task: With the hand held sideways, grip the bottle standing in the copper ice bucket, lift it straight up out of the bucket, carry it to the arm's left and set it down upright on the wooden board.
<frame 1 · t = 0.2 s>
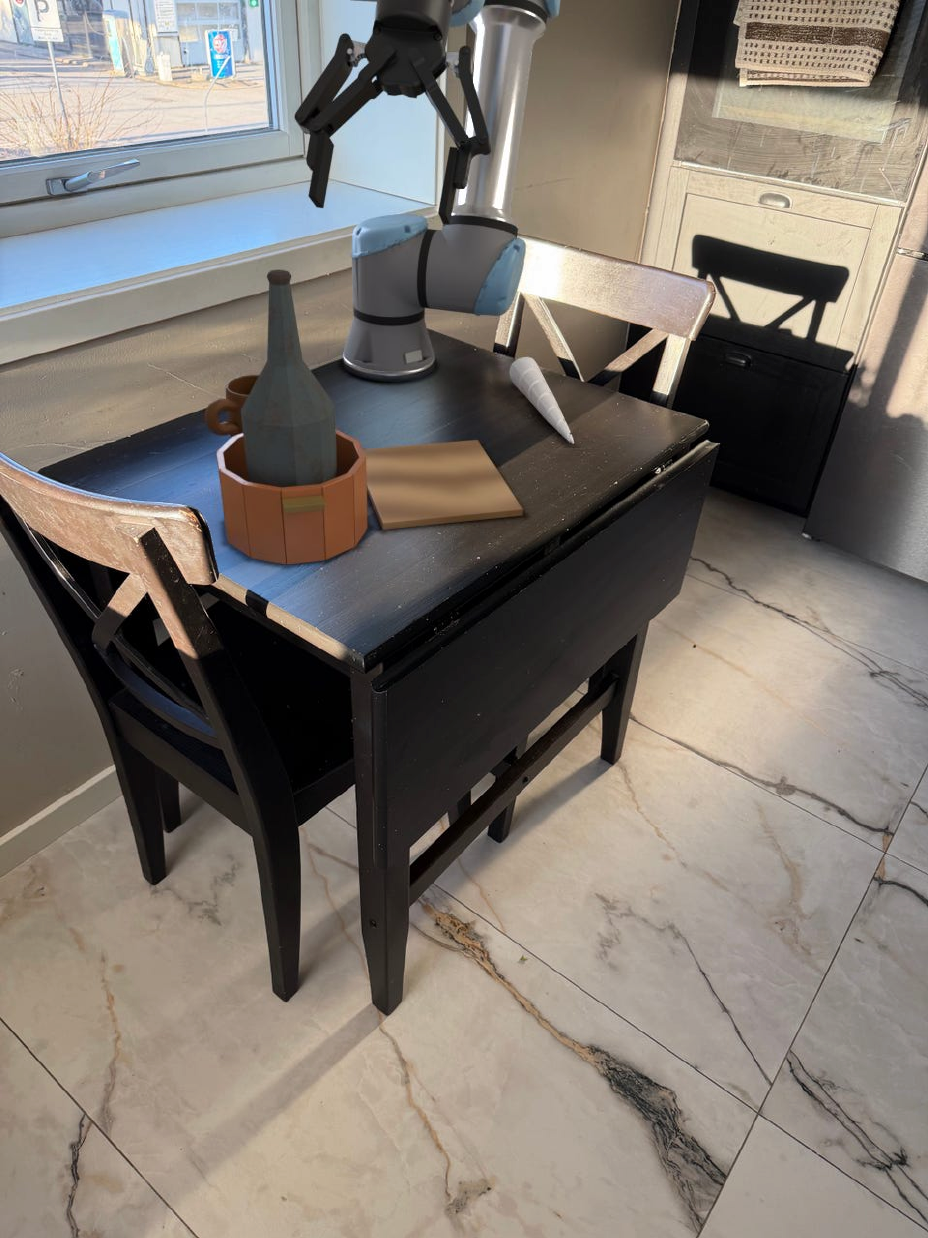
hand: (379, 210, 92), 35 cm above the table, tool tilted 35°, fingers open, 13 cm apart
wooden board: (433, 484, 120), on the table
unicorn horn: (544, 411, 141), on the table
bottle: (296, 527, 110), resting in ice bucket
mug: (247, 455, 124), on the table
ice bucket: (296, 525, 110), on the table
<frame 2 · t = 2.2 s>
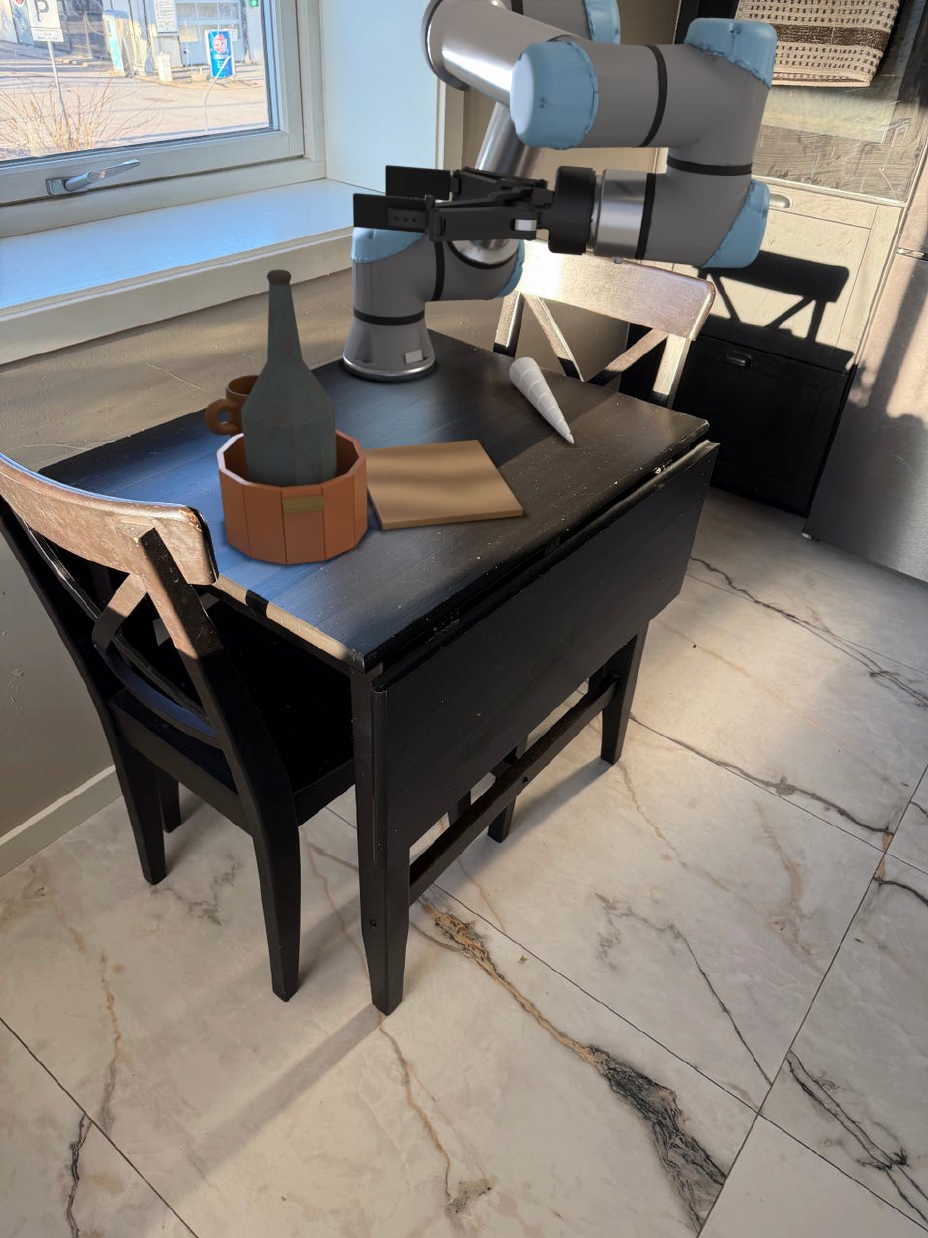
hand: (370, 194, 87), 38 cm above the table, tool horizontal, fingers open, 13 cm apart
nothing on the table moved.
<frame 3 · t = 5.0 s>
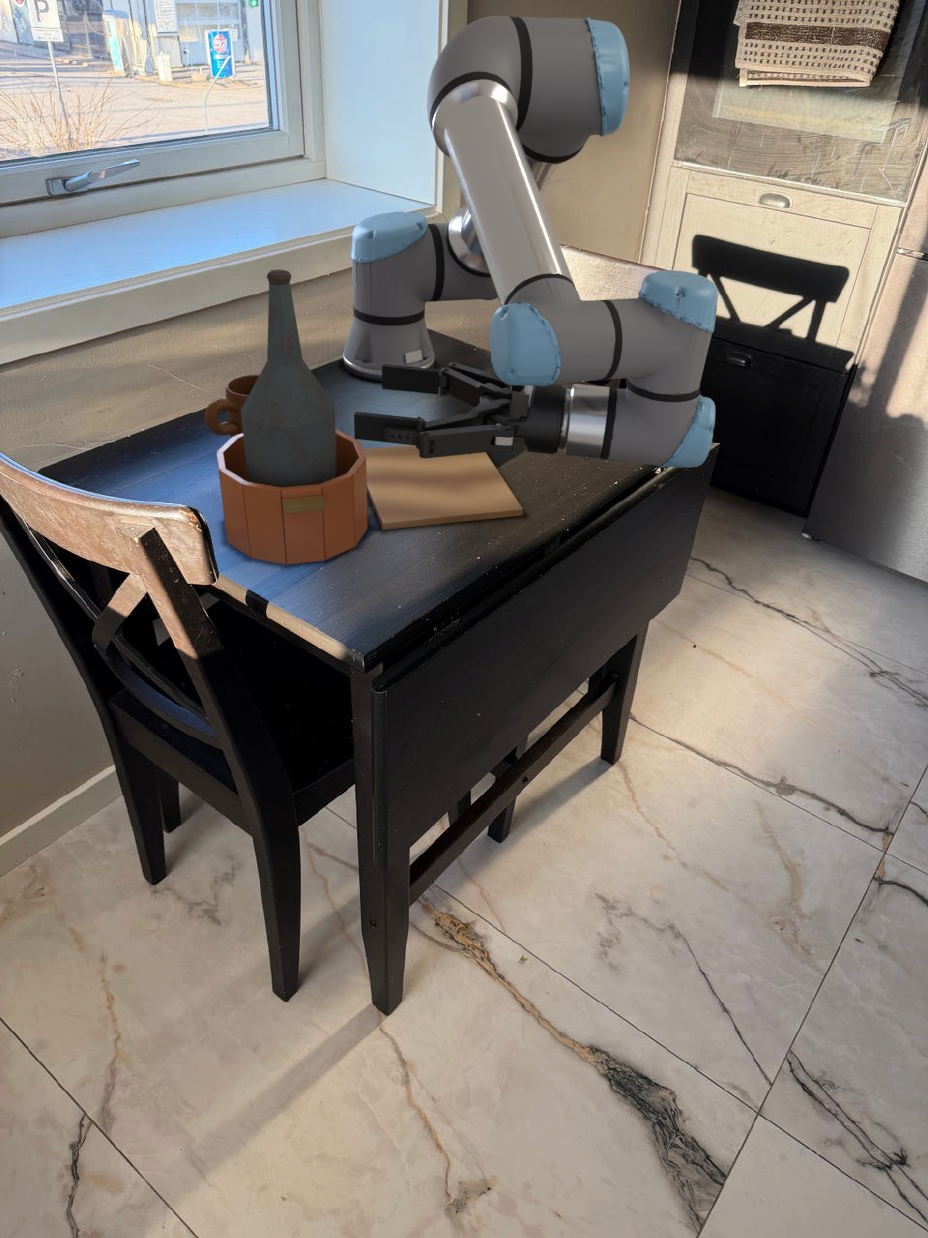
hand: (369, 399, 99), 17 cm above the table, tool horizontal, fingers open, 13 cm apart
nothing on the table moved.
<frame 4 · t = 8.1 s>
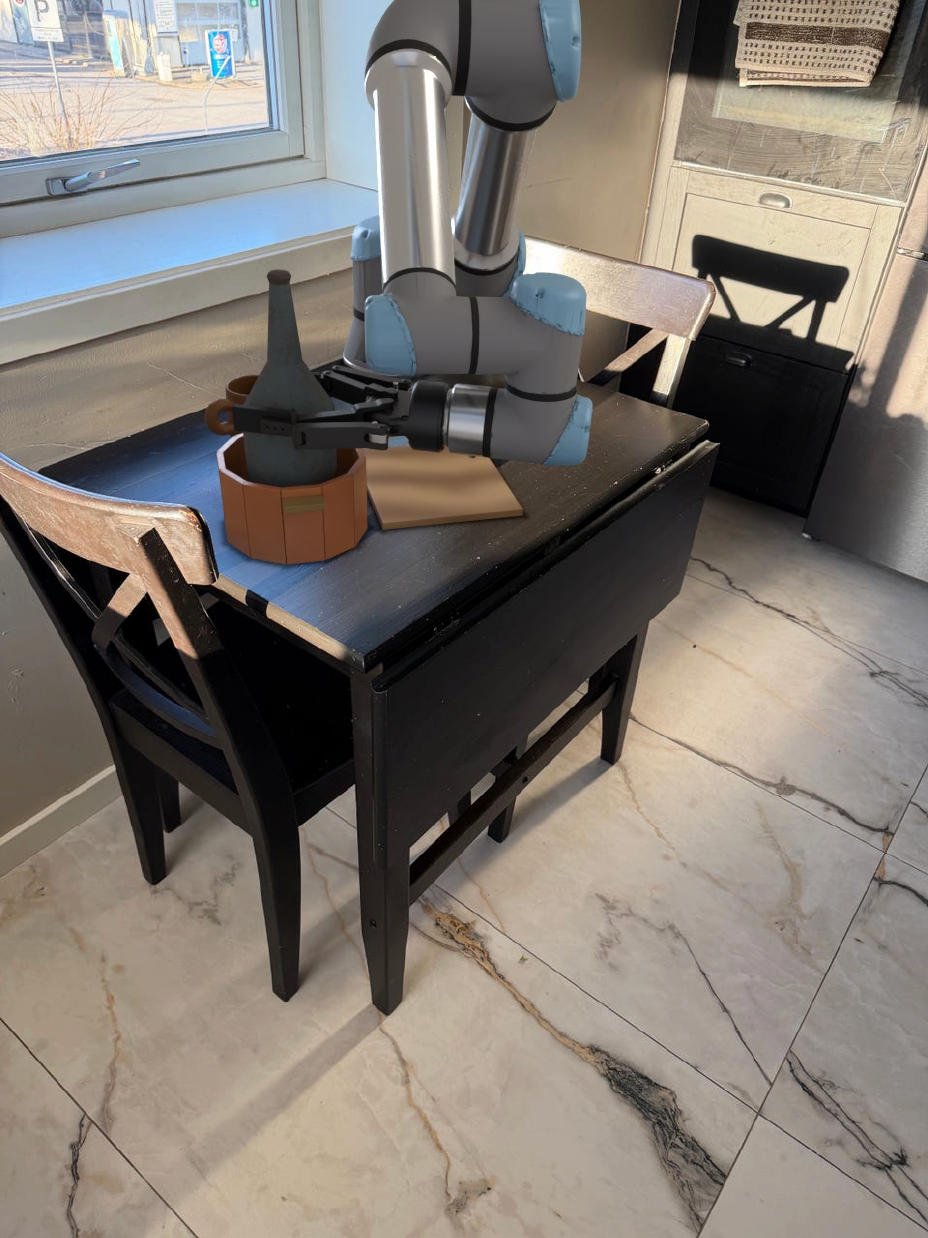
hand: (250, 397, 101), 16 cm above the table, tool horizontal, fingers closed on bottle, 10 cm apart
bottle: (296, 527, 110), resting in ice bucket, touching gripper
everything else where it was.
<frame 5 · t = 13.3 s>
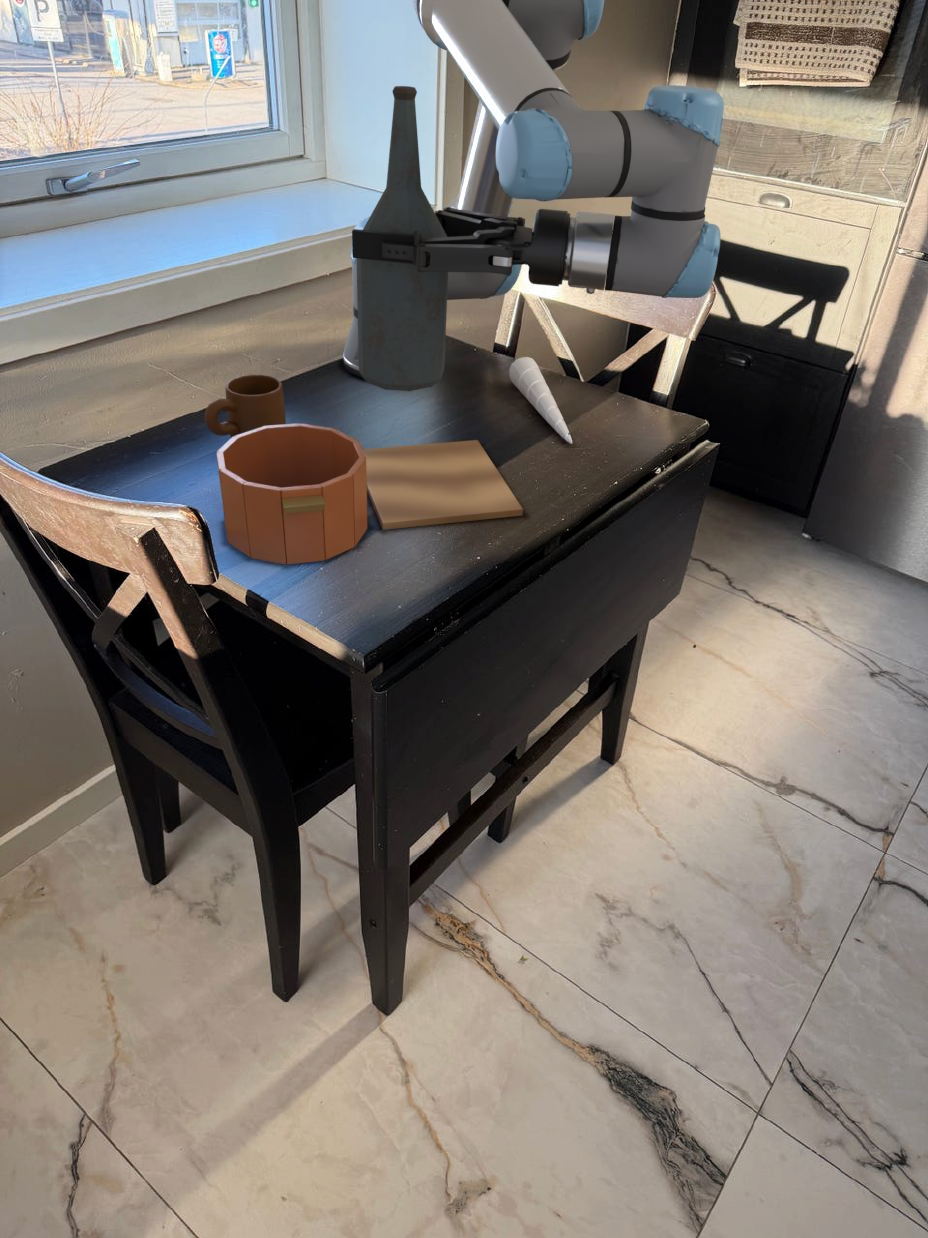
hand: (365, 230, 99), 32 cm above the table, tool horizontal, fingers closed on bottle, 10 cm apart
bottle: (402, 377, 108), point 16 cm above the table, touching gripper
everything else where it was.
when the fingers open (17 cm above the table, at t = 18.4 s): bottle stays where it is, resting on wooden board.
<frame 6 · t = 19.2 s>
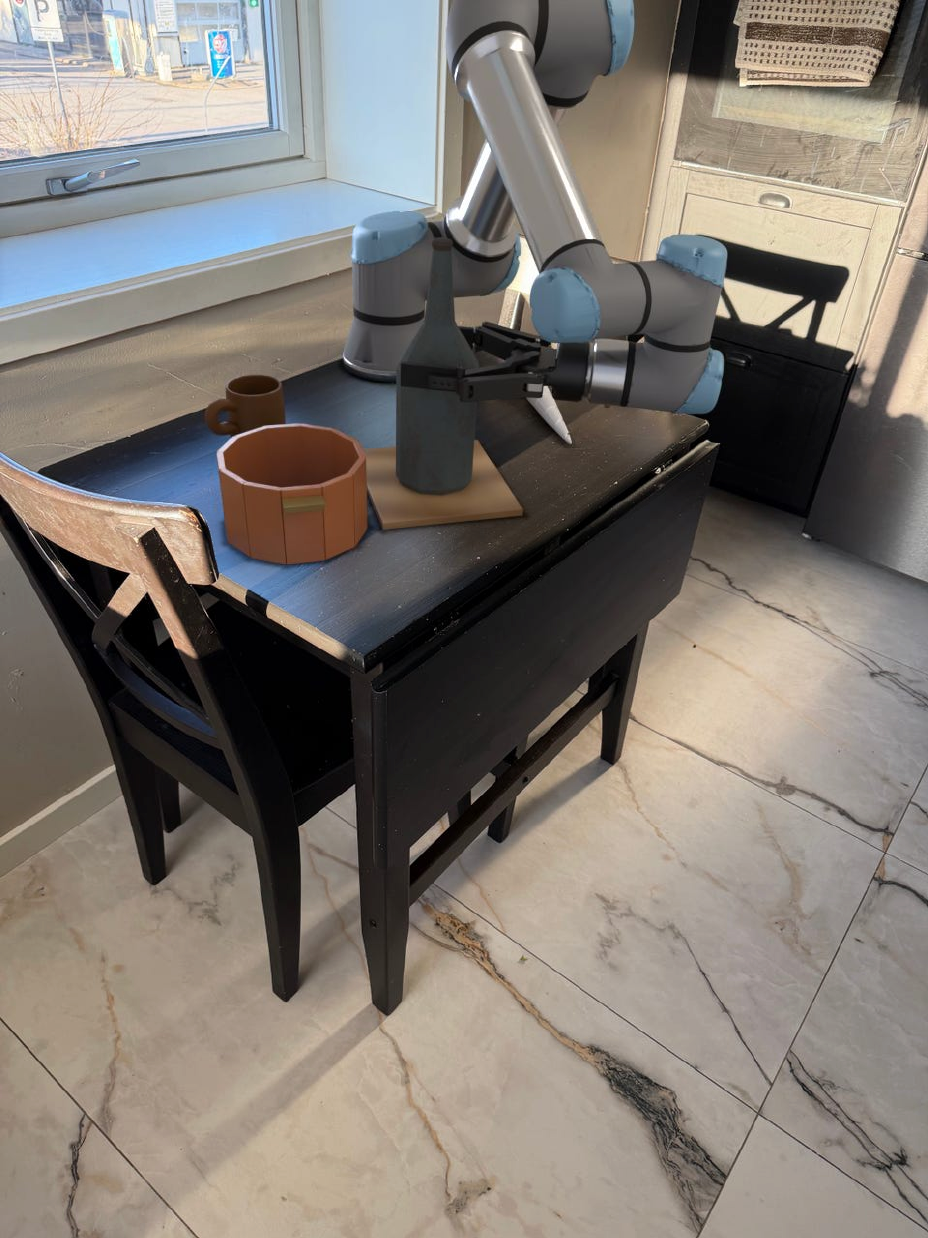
hand: (411, 352, 110), 18 cm above the table, tool horizontal, fingers open, 13 cm apart
bottle: (434, 479, 120), point 1 cm above the table, touching wooden board
everything else where it was.
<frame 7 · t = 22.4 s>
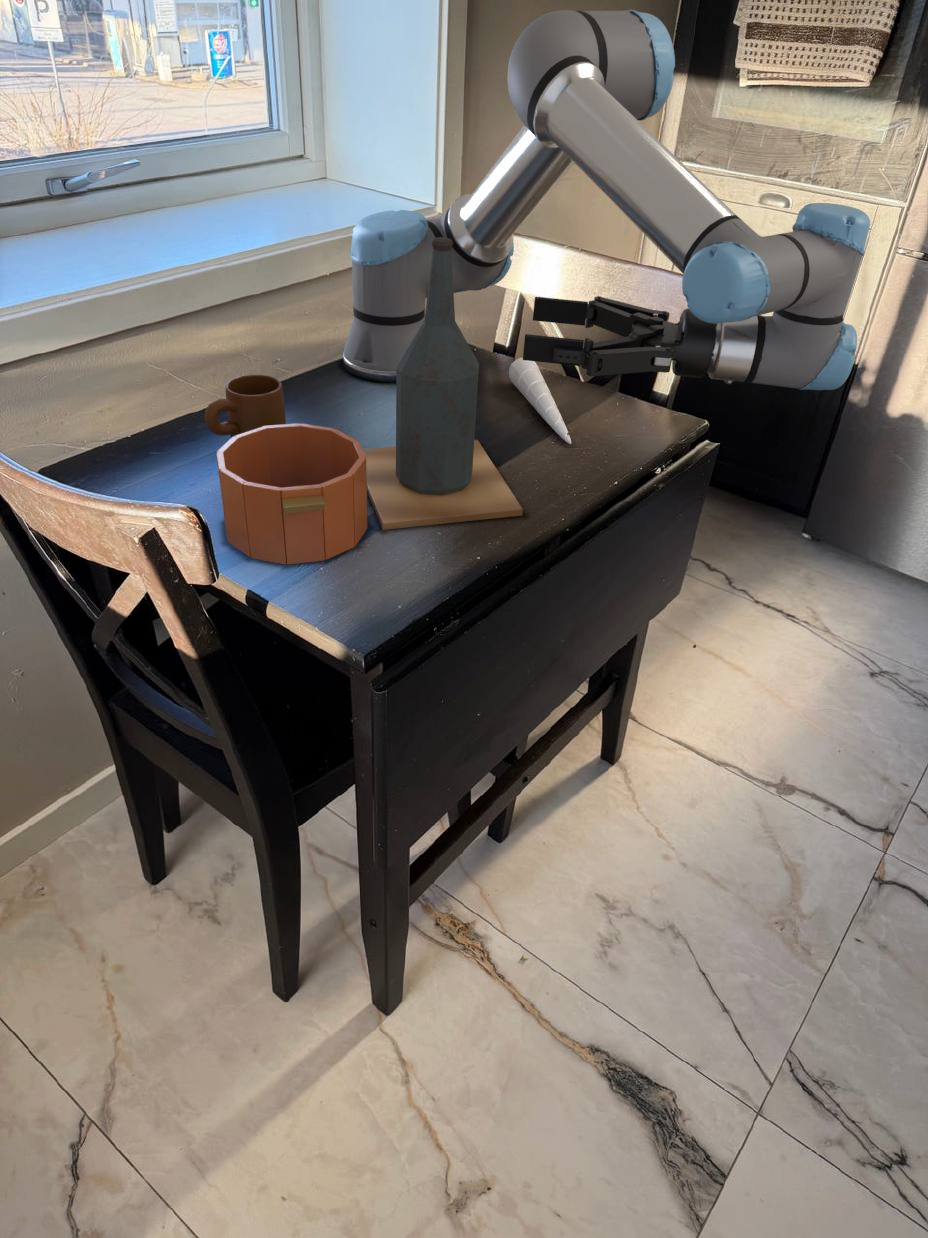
hand: (528, 326, 107), 22 cm above the table, tool horizontal, fingers open, 13 cm apart
nothing on the table moved.
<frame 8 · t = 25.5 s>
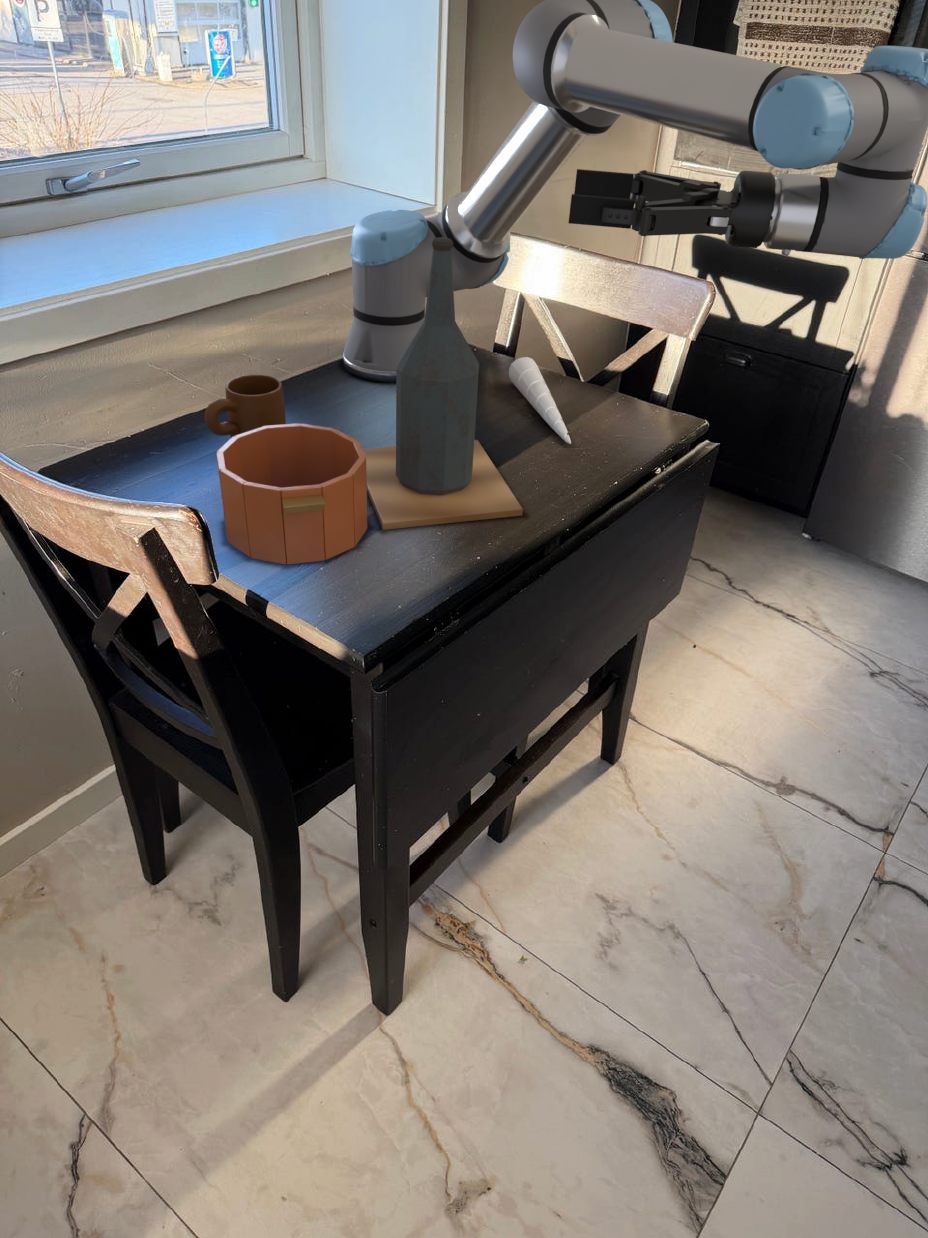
hand: (572, 194, 100), 36 cm above the table, tool horizontal, fingers open, 13 cm apart
nothing on the table moved.
at the end: bottle inside the target area (0.1 cm from its centre), point 0.8 cm above the table; bottle tilted 0°; the gripper is holding nothing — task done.
